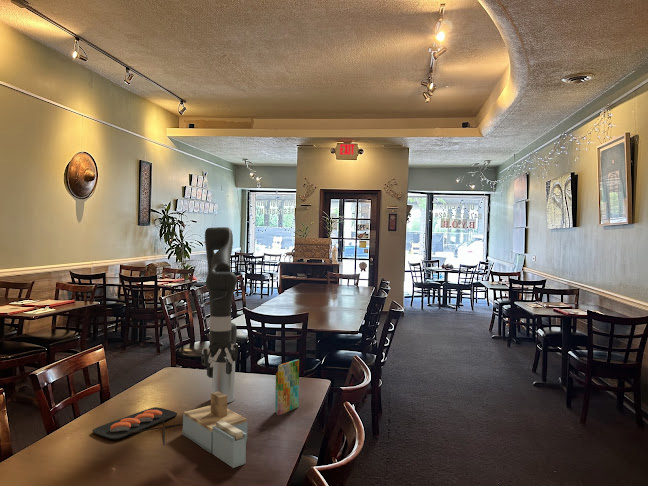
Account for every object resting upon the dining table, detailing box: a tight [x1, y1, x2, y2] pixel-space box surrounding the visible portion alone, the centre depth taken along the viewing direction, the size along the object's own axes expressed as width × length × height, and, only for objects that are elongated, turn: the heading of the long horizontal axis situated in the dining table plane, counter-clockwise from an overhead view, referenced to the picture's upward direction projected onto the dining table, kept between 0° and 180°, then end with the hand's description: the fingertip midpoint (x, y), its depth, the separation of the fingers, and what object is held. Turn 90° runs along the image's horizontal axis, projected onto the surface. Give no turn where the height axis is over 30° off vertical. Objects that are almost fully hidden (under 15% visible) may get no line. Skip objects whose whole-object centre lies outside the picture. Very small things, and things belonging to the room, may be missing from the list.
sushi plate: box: [92, 406, 183, 446], centre depth 171 cm, size 29×30×4 cm
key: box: [216, 420, 243, 440], centre depth 149 cm, size 12×2×2 cm, turn 43°
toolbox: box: [182, 414, 249, 469], centre depth 160 cm, size 33×14×9 cm, turn 43°
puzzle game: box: [274, 359, 300, 416], centre depth 193 cm, size 12×5×20 cm, turn 144°
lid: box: [183, 391, 248, 432], centre depth 164 cm, size 20×14×8 cm
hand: (219, 375), depth 165 cm, fingers open, 6 cm apart
